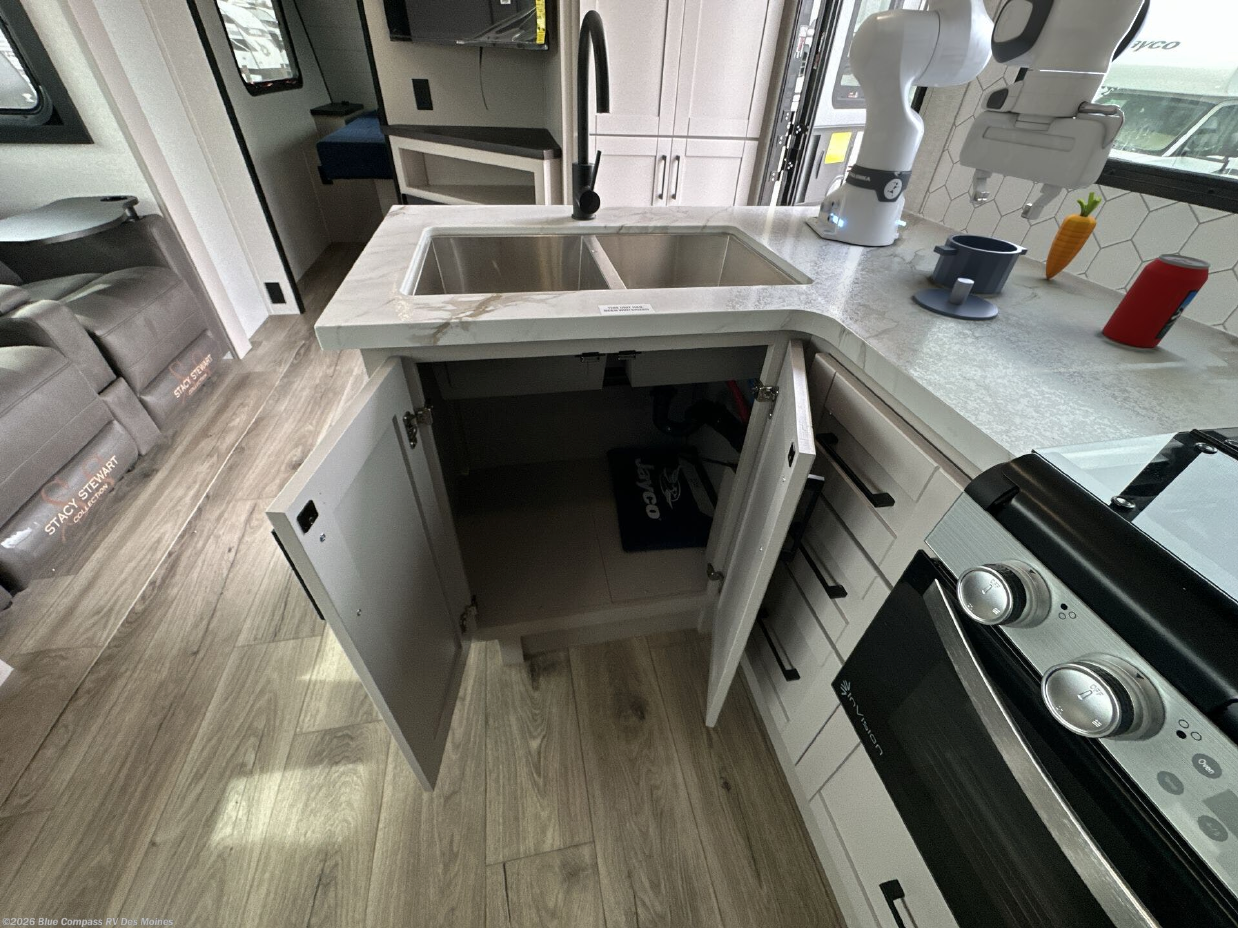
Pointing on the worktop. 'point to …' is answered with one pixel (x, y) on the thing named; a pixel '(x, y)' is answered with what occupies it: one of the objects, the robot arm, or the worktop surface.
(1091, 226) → the carrot
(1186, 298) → the beverage can
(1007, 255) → the pot
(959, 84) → the robot arm
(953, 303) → the lid
